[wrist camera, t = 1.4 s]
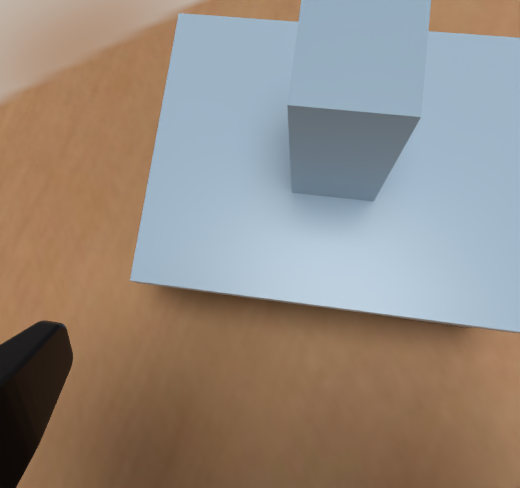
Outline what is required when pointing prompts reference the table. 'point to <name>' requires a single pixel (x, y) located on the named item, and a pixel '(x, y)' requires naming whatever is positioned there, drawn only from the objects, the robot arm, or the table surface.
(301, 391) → the table surface
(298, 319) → the table surface
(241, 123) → the tub lid
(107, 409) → the table surface
